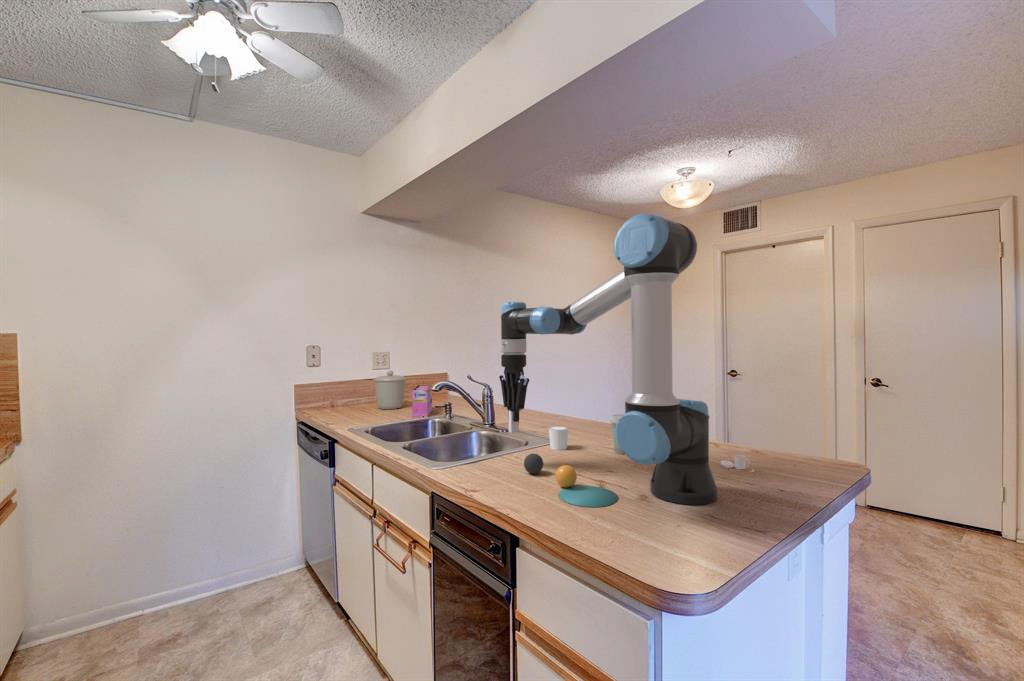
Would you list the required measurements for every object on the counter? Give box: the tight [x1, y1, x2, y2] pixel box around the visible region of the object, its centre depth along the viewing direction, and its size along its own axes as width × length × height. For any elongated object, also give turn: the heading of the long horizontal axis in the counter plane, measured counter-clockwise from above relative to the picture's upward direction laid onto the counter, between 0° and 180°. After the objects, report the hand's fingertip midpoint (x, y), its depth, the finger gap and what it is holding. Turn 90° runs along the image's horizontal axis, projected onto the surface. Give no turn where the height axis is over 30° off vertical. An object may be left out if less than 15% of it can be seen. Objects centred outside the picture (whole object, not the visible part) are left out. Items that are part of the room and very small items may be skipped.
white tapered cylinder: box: [548, 425, 569, 451], centre depth 152 cm, size 7×7×7 cm
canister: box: [372, 370, 407, 410], centre depth 245 cm, size 18×18×21 cm
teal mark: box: [558, 485, 619, 508], centre depth 105 cm, size 14×14×1 cm
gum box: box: [411, 384, 433, 418], centre depth 227 cm, size 24×8×14 cm, turn 5°
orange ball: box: [554, 464, 578, 489], centre depth 112 cm, size 6×6×6 cm
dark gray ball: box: [523, 453, 544, 475], centre depth 124 cm, size 6×6×6 cm
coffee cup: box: [610, 413, 625, 455], centre depth 145 cm, size 8×8×12 cm
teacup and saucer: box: [719, 454, 751, 470], centre depth 126 cm, size 9×8×4 cm
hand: (513, 431), depth 132 cm, fingers closed
